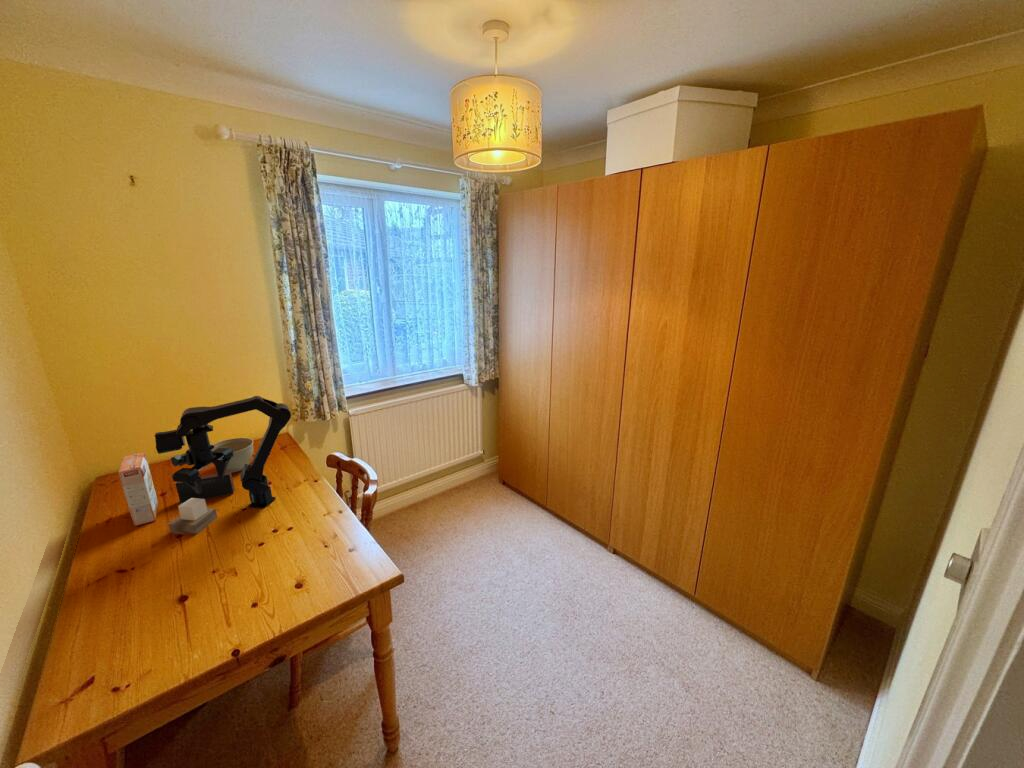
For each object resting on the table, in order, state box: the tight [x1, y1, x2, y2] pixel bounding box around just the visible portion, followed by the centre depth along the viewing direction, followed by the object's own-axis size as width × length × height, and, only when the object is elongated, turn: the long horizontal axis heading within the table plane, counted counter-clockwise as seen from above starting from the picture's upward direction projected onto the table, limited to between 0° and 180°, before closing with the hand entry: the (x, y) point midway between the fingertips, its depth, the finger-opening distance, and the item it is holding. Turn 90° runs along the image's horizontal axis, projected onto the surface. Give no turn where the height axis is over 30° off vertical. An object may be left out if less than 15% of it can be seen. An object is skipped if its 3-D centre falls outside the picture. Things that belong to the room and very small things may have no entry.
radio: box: [175, 456, 236, 505], centre depth 149 cm, size 19×3×15 cm, turn 114°
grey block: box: [167, 507, 218, 535], centre depth 135 cm, size 9×9×4 cm
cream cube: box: [177, 498, 208, 520], centre depth 134 cm, size 5×5×5 cm
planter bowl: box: [212, 437, 254, 474], centre depth 171 cm, size 16×16×11 cm
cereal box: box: [118, 452, 159, 527], centre depth 138 cm, size 14×6×21 cm, turn 37°
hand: (210, 485), depth 137 cm, fingers open, 9 cm apart
